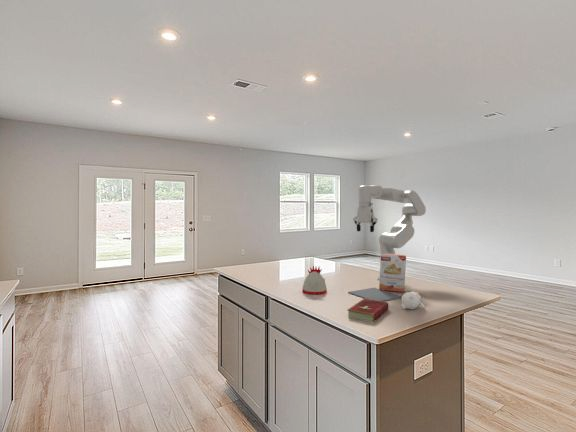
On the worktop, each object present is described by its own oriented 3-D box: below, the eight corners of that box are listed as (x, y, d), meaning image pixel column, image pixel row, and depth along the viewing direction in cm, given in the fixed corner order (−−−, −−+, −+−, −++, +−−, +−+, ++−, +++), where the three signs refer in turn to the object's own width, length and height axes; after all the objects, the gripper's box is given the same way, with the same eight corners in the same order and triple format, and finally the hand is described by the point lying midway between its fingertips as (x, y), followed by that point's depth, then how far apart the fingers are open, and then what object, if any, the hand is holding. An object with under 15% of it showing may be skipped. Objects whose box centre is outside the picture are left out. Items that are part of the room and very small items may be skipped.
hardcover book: (388, 310, 153) (388, 301, 153) (373, 323, 136) (373, 314, 136) (364, 306, 160) (364, 297, 160) (347, 318, 142) (347, 309, 142)
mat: (374, 288, 193) (374, 287, 193) (403, 297, 174) (403, 296, 174) (348, 292, 183) (348, 291, 183) (376, 302, 164) (376, 301, 164)
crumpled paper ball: (413, 285, 162) (405, 289, 152) (432, 300, 156) (424, 305, 147) (403, 298, 165) (395, 303, 155) (421, 313, 159) (413, 319, 150)
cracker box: (379, 289, 187) (380, 253, 187) (379, 287, 192) (380, 253, 193) (404, 292, 183) (406, 255, 183) (404, 290, 188) (405, 254, 189)
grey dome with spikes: (325, 295, 178) (325, 268, 177) (300, 294, 181) (300, 267, 180) (327, 289, 191) (327, 264, 191) (304, 288, 194) (304, 263, 194)
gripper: (380, 204, 203) (380, 231, 204) (356, 205, 215) (356, 230, 216) (374, 204, 198) (374, 232, 198) (350, 205, 210) (350, 231, 211)
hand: (365, 231), depth 207 cm, fingers open, 9 cm apart
